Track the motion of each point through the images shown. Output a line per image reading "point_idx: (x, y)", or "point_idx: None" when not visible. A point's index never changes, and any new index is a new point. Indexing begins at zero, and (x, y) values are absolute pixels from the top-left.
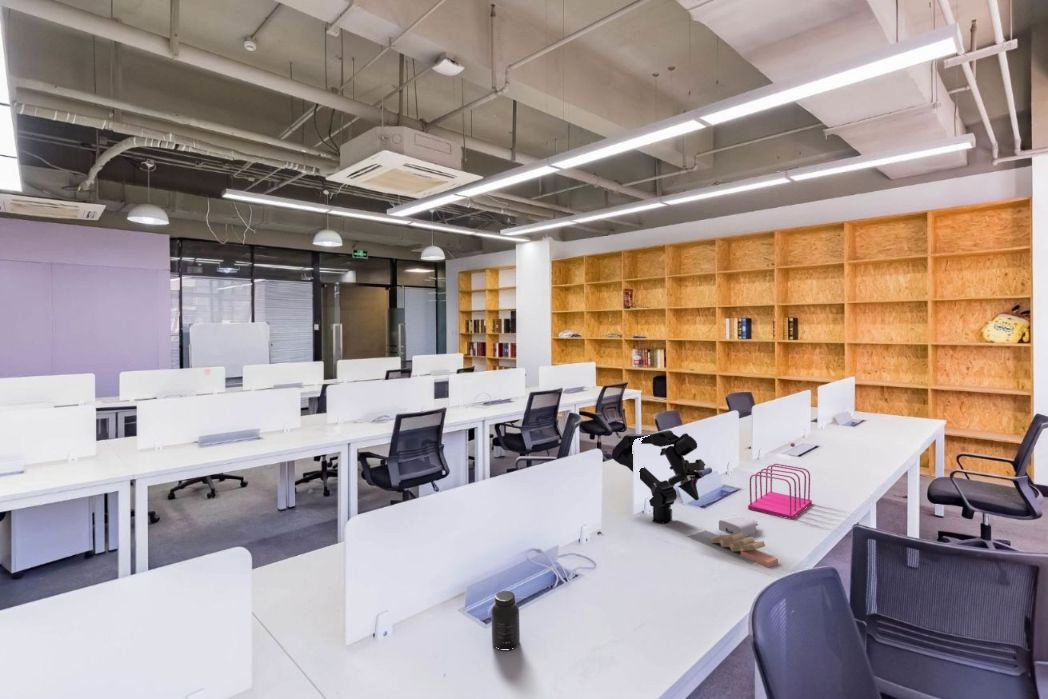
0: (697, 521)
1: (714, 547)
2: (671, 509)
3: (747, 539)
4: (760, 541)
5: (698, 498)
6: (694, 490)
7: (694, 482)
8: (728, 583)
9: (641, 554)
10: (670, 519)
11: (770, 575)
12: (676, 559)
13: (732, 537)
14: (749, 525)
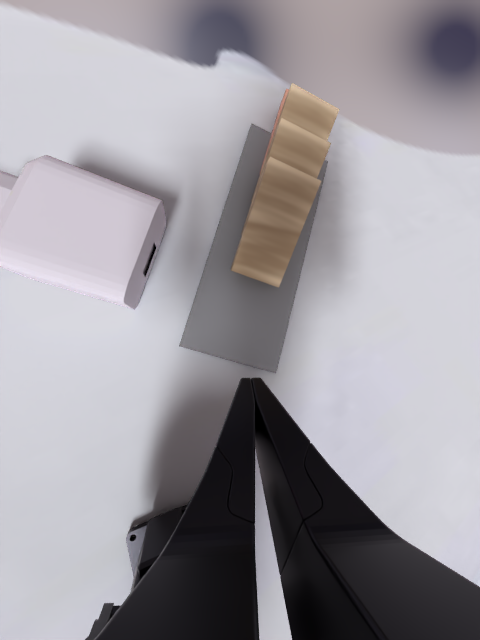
0: (77, 427)
1: (297, 268)
2: (147, 565)
3: (310, 134)
4: (293, 96)
5: (251, 380)
6: (301, 442)
7: (256, 589)
8: (425, 192)
9: (444, 412)
10: (180, 513)
11: (339, 122)
12: (410, 327)
13: (318, 185)
14: (93, 174)
